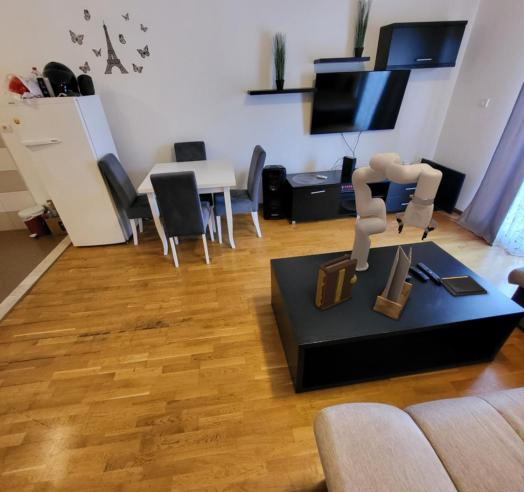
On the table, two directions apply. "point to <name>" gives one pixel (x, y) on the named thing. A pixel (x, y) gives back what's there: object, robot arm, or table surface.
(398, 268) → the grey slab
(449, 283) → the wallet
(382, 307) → the stand
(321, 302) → the book
